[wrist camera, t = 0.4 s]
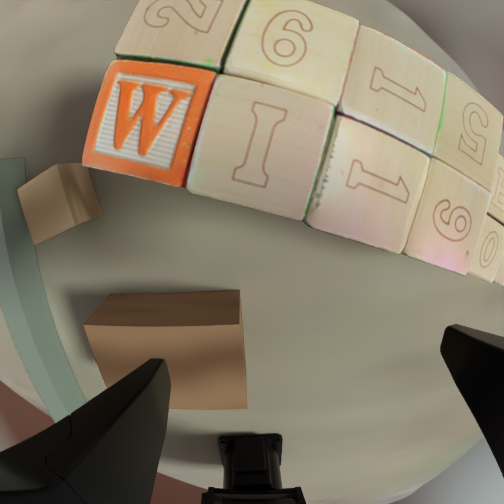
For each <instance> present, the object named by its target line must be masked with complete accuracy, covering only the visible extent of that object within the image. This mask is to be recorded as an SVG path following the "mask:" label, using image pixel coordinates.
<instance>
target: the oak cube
mask: <svg viewBox="0 0 504 504" xmlns="http://www.w3.org/2000/svg"><path fill="white" fill-rule="evenodd" d="M17 192H18V195H19V199H20V203H21V206H22V209H23V213H24V216H25V219H26V222H27V225H28V228H29V231H30V234H31V237H32V240H33V243H34V245H37V244H39V243H41V242H43V241H45V240H48V239H50V238H52V237H54V236H56V235H59V234H61V233H63V232H65V231H67V230H69V229H72V228H74V227H76V226H78V225H80V224H82V223H84V222H87V221H89V220H91V219H93V218H96V217H98V216H100V215H102V214H103V213H102V210H101V207H100V204H99V201H98V198H97V195H96V192H95V189H94V186H93V182H92V179H91V176H90V172H89V169H88V167H87V166H83V165H82V163H60V164H55V165H54V166H52V167H50V168H49V169H47V170H46V171H44V172H43V173H41V174H39V175H38V176H36V177H35V178H33V179H32V180H30V181H29V182H27V183H26V184H25V185H23V186H22V187H20V188H19V189H17Z"/></svg>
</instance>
